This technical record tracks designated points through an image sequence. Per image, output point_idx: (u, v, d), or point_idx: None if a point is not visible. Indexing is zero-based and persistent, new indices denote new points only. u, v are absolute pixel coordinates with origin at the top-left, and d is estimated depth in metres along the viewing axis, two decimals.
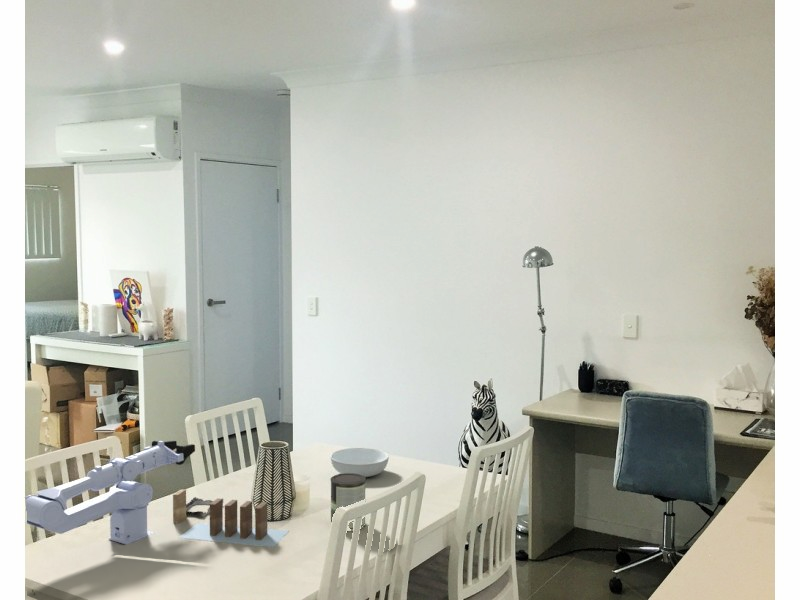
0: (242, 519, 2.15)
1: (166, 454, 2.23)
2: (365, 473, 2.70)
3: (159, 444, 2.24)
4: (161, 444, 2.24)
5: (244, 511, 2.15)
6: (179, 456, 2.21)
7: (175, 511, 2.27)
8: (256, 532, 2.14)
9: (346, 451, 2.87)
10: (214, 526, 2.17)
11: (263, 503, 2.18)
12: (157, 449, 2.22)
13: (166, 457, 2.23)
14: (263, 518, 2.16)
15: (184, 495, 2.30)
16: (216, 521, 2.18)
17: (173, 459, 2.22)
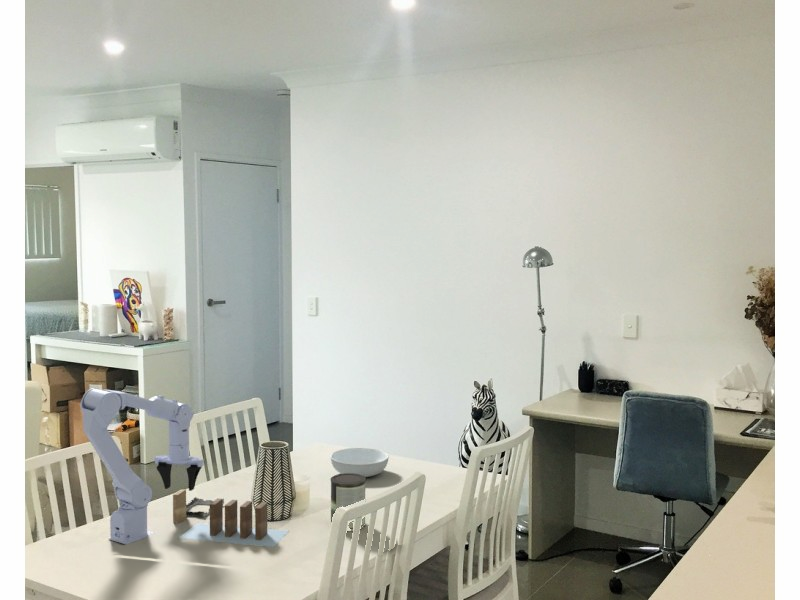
0: (242, 519, 2.15)
1: (189, 457, 2.28)
2: (365, 473, 2.70)
3: None
4: None
5: (244, 511, 2.15)
6: (203, 460, 2.27)
7: (175, 511, 2.27)
8: (256, 532, 2.14)
9: (346, 451, 2.87)
10: (214, 526, 2.17)
11: (263, 503, 2.18)
12: None
13: (187, 457, 2.27)
14: (263, 518, 2.16)
15: (184, 495, 2.30)
16: (216, 521, 2.18)
17: None
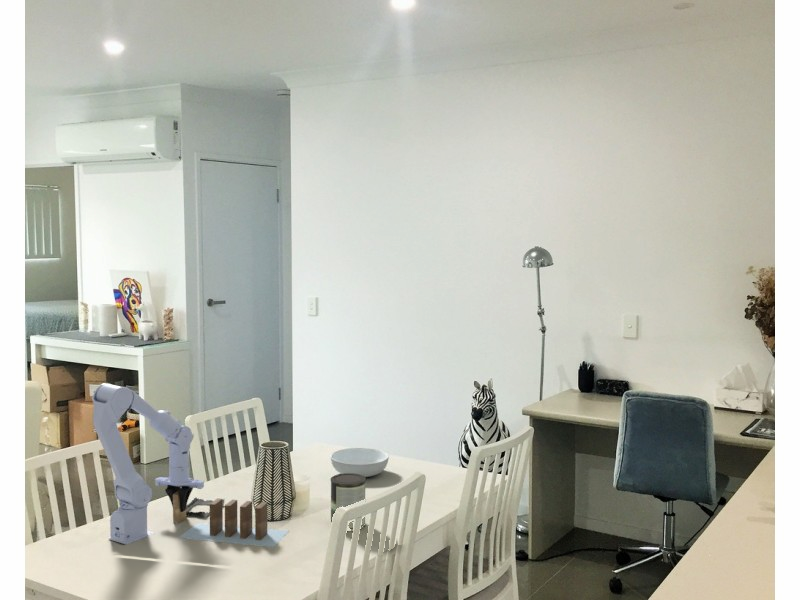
0: (242, 519, 2.15)
1: (189, 478, 2.28)
2: (365, 473, 2.70)
3: None
4: None
5: (244, 511, 2.15)
6: (203, 482, 2.27)
7: (175, 511, 2.27)
8: (256, 532, 2.14)
9: (346, 451, 2.87)
10: (214, 526, 2.17)
11: (263, 503, 2.18)
12: None
13: (188, 479, 2.28)
14: (263, 518, 2.16)
15: None
16: (216, 521, 2.18)
17: None
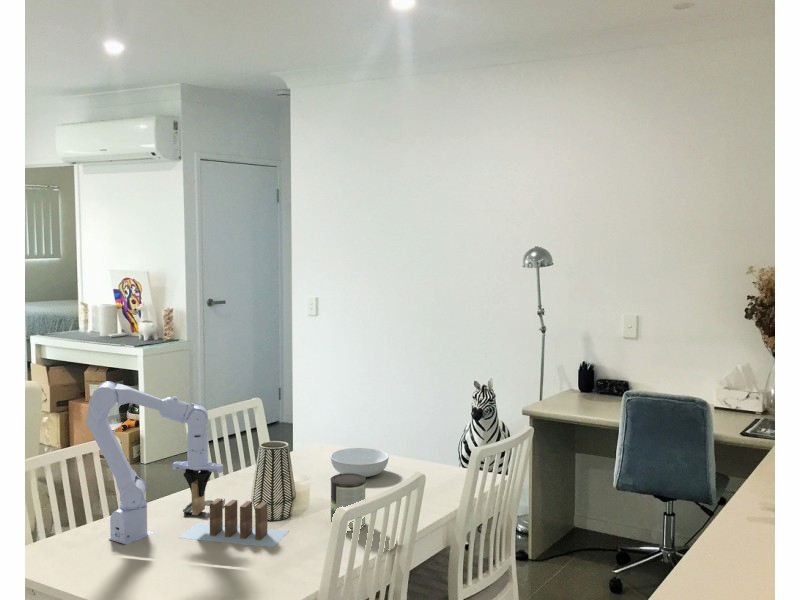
0: (242, 519, 2.15)
1: (207, 462, 2.21)
2: (365, 473, 2.70)
3: None
4: None
5: (244, 511, 2.15)
6: (222, 466, 2.20)
7: (194, 501, 2.19)
8: (256, 532, 2.14)
9: (346, 451, 2.87)
10: (214, 526, 2.17)
11: (263, 503, 2.18)
12: None
13: (206, 463, 2.20)
14: (263, 518, 2.16)
15: None
16: (216, 521, 2.18)
17: None
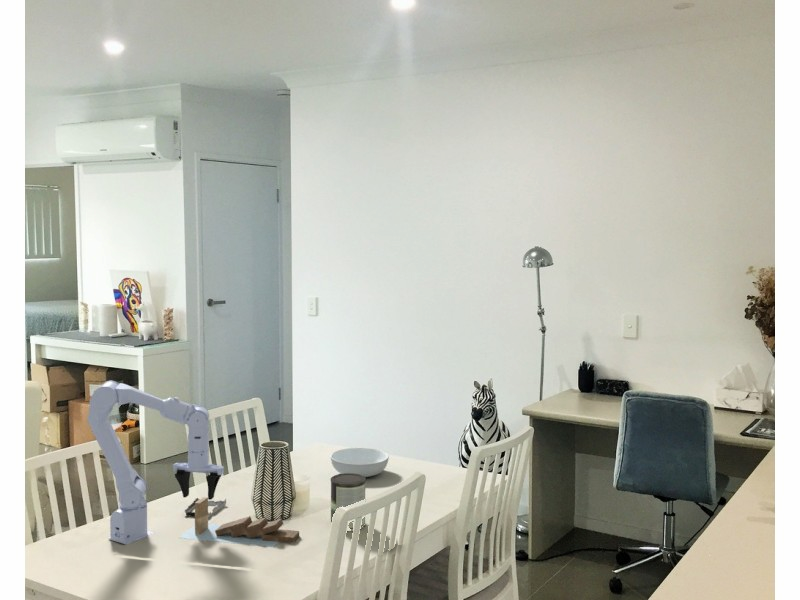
0: (264, 530, 2.14)
1: (208, 464, 2.19)
2: (365, 473, 2.70)
3: None
4: None
5: (272, 530, 2.13)
6: (223, 468, 2.18)
7: (197, 520, 2.18)
8: (269, 536, 2.14)
9: (346, 451, 2.87)
10: (225, 532, 2.16)
11: (298, 535, 2.16)
12: None
13: (207, 464, 2.18)
14: None
15: (206, 503, 2.21)
16: None
17: None
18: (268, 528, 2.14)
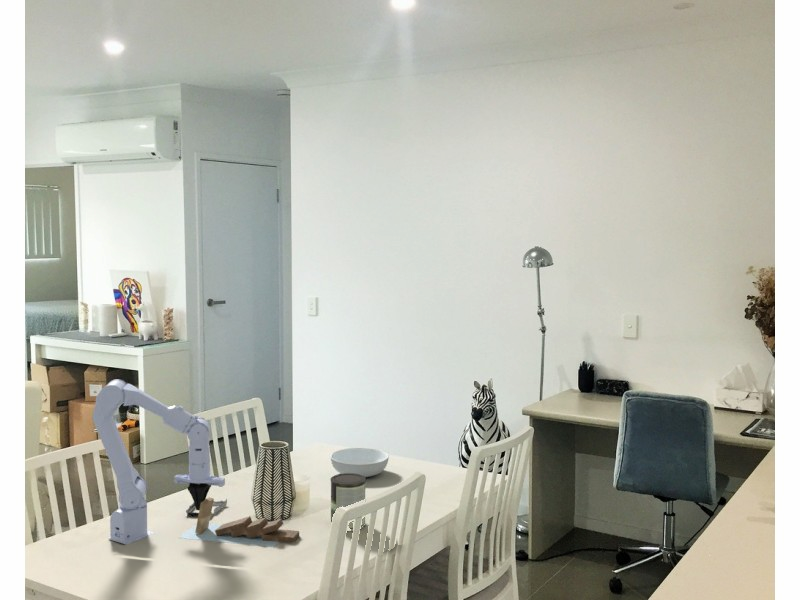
0: (264, 530, 2.14)
1: (209, 476, 2.20)
2: (365, 473, 2.70)
3: None
4: None
5: (272, 530, 2.13)
6: (224, 480, 2.19)
7: (200, 520, 2.18)
8: (269, 536, 2.14)
9: (346, 451, 2.87)
10: (225, 532, 2.16)
11: (298, 535, 2.16)
12: None
13: (208, 476, 2.19)
14: None
15: (211, 504, 2.21)
16: None
17: (214, 480, 2.18)
18: (268, 528, 2.14)
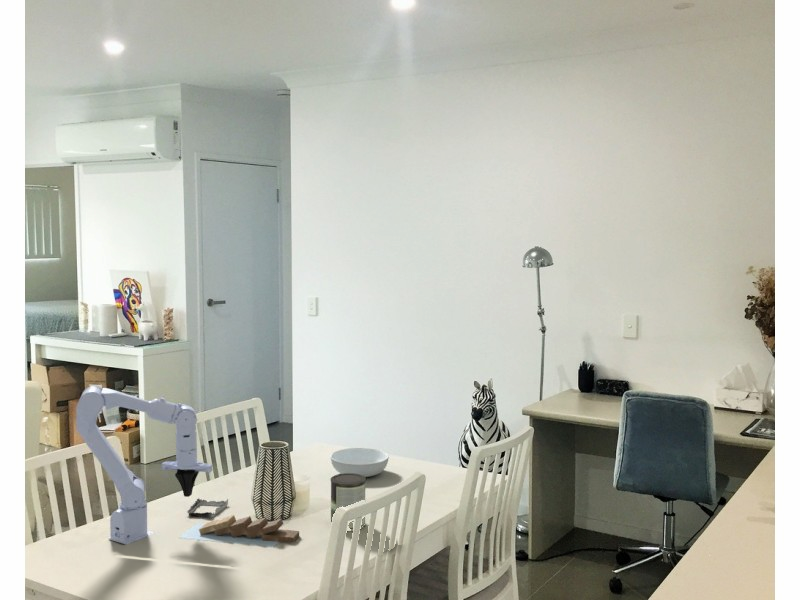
0: (264, 530, 2.14)
1: (197, 462, 2.21)
2: (365, 473, 2.70)
3: None
4: None
5: (272, 530, 2.13)
6: (211, 466, 2.20)
7: (211, 528, 2.17)
8: (269, 536, 2.14)
9: (346, 451, 2.87)
10: (225, 532, 2.16)
11: (298, 535, 2.16)
12: None
13: (195, 462, 2.20)
14: None
15: None
16: None
17: (201, 466, 2.19)
18: (268, 528, 2.14)
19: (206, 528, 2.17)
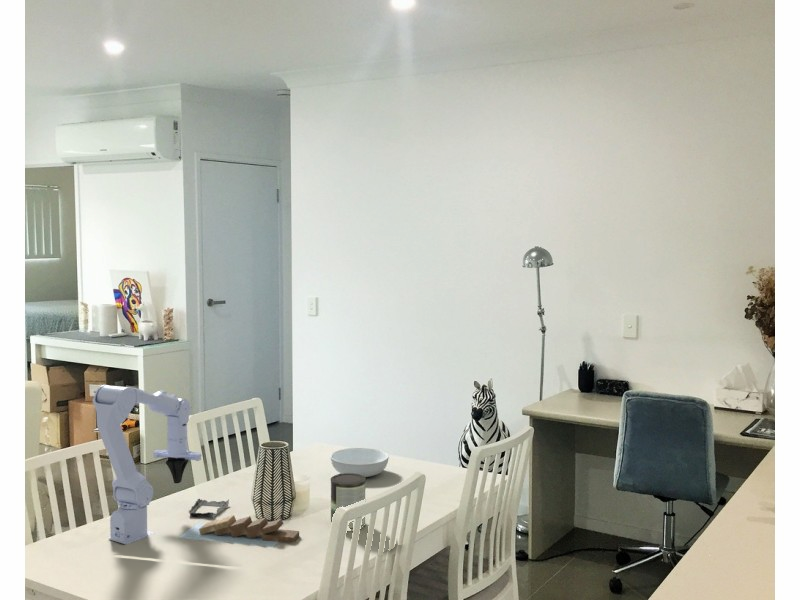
0: (264, 530, 2.14)
1: (187, 451, 2.33)
2: (365, 473, 2.70)
3: None
4: None
5: (272, 530, 2.13)
6: (200, 454, 2.32)
7: (211, 528, 2.17)
8: (269, 536, 2.14)
9: (346, 451, 2.87)
10: (225, 532, 2.16)
11: (298, 535, 2.16)
12: None
13: (185, 451, 2.32)
14: None
15: None
16: None
17: None
18: (268, 528, 2.14)
19: (206, 528, 2.17)
